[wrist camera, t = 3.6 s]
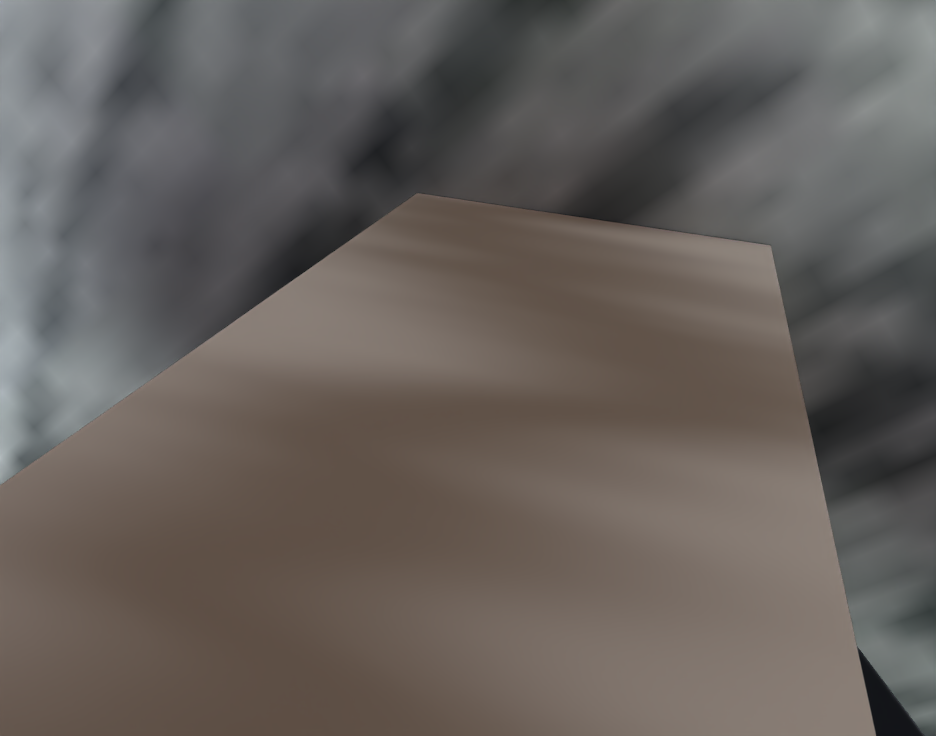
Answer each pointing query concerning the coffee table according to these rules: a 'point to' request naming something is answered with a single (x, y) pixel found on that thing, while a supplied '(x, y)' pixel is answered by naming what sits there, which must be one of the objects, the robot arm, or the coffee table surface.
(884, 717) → the robot arm
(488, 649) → the peg
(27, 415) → the coffee table surface
